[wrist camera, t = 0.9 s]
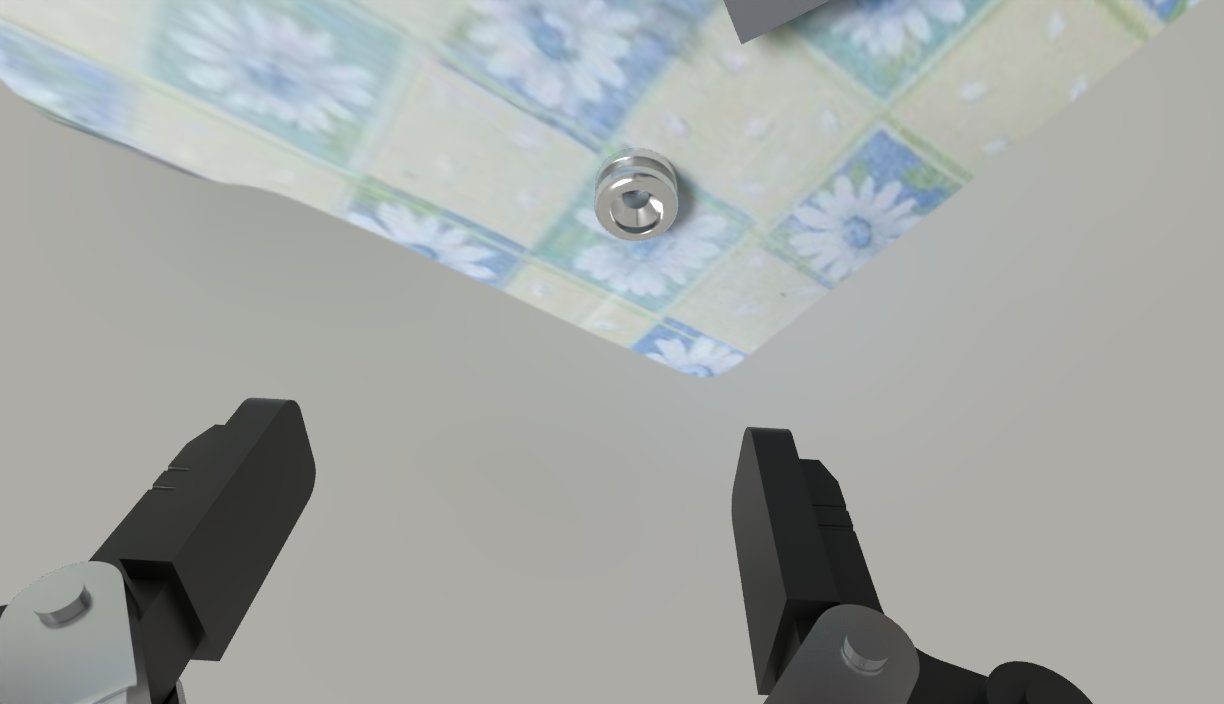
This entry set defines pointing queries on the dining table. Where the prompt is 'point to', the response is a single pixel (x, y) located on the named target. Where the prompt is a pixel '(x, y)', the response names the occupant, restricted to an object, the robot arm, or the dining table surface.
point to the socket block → (765, 14)
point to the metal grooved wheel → (636, 211)
